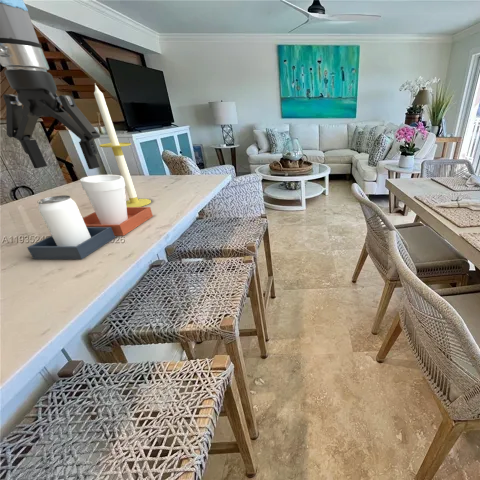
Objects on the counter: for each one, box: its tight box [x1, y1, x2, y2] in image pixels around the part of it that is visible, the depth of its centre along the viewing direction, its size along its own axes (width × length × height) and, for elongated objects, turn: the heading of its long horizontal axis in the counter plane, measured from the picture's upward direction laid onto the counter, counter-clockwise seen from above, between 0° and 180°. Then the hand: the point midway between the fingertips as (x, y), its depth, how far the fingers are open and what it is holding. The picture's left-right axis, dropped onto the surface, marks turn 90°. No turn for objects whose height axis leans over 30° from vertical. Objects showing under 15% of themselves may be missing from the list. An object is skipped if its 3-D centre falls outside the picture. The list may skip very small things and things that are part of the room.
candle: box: [93, 83, 152, 207], centre depth 86 cm, size 10×10×38 cm
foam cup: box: [79, 174, 128, 225], centre depth 75 cm, size 10×9×13 cm
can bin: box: [26, 227, 116, 260], centre depth 65 cm, size 11×11×3 cm
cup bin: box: [82, 206, 154, 237], centre depth 77 cm, size 14×14×3 cm
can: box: [37, 194, 91, 246], centre depth 63 cm, size 6×6×12 cm
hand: (67, 167), depth 68 cm, fingers open, 13 cm apart
